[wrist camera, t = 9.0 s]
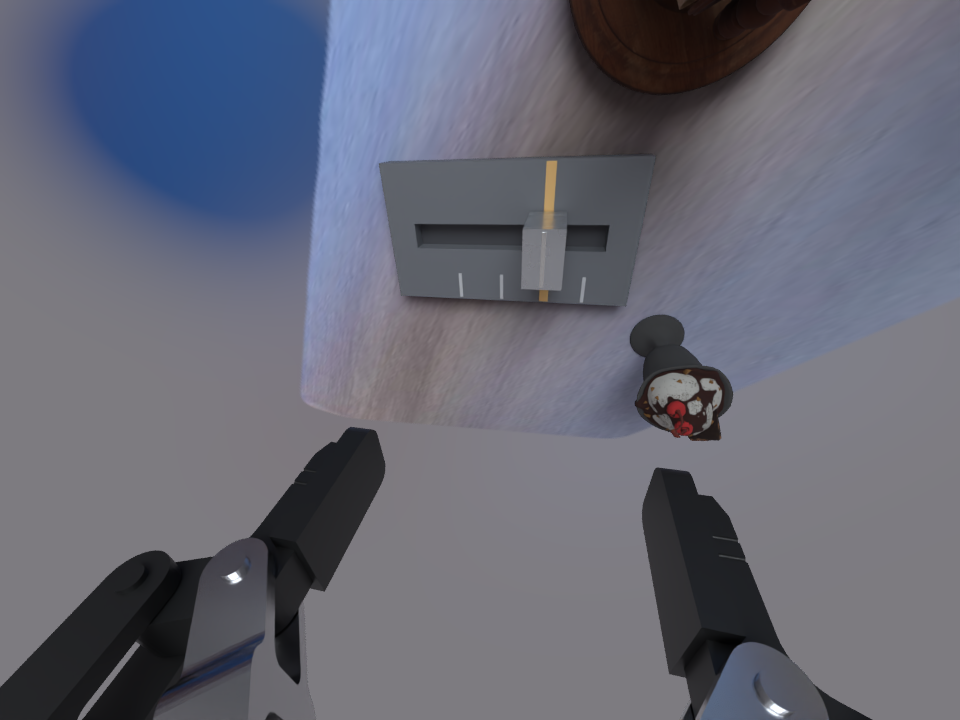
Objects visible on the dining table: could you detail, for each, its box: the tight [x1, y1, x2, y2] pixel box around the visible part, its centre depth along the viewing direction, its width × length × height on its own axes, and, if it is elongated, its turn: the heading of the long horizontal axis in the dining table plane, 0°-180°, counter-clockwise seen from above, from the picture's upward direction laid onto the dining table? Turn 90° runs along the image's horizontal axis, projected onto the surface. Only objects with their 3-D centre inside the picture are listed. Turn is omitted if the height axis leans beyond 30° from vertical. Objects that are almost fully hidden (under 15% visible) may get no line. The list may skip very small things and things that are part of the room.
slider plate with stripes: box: [379, 154, 656, 306], centre depth 32 cm, size 22×12×2 cm, turn 92°
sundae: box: [630, 315, 733, 441], centre depth 30 cm, size 7×7×15 cm
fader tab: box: [521, 212, 567, 291], centre depth 29 cm, size 3×4×8 cm
